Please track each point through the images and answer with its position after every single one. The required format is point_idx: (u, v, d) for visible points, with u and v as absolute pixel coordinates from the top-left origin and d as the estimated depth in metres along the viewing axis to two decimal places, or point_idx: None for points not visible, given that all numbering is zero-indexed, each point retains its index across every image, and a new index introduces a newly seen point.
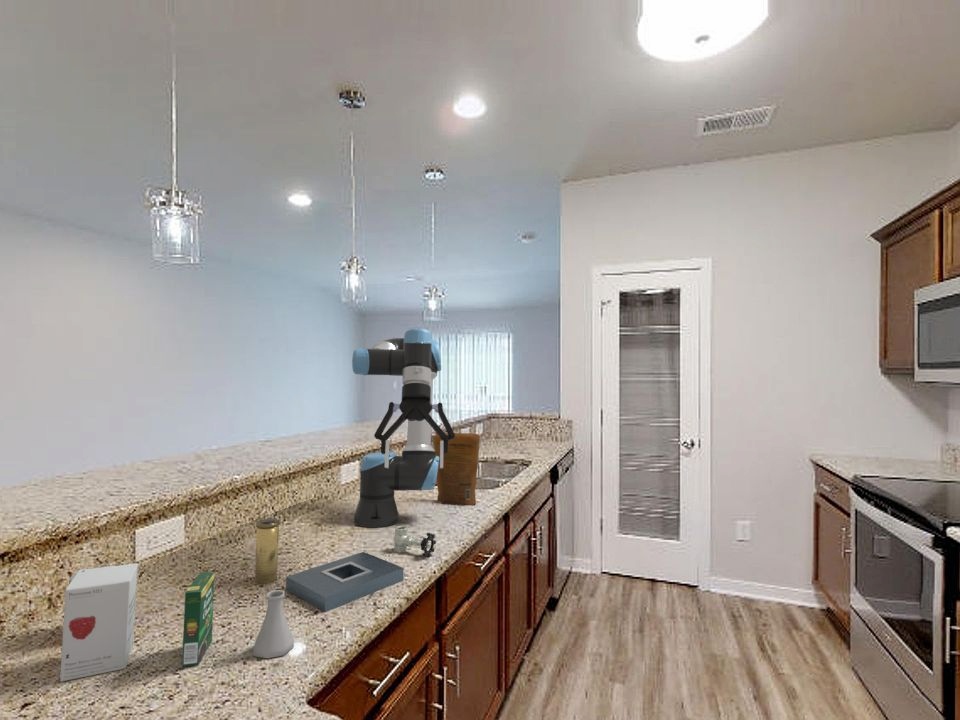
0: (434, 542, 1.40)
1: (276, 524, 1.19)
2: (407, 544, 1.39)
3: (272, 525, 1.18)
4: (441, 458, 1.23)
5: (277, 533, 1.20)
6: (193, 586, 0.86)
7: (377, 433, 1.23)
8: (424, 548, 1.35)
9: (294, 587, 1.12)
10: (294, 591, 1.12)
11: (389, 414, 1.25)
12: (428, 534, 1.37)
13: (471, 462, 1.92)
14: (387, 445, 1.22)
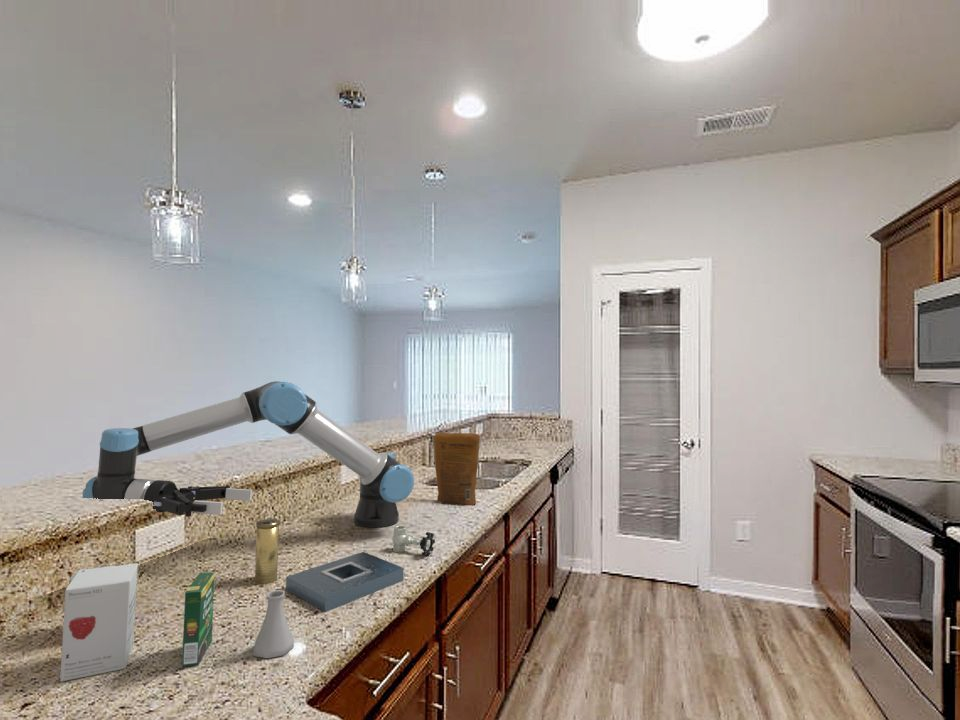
0: (433, 541, 1.40)
1: (276, 524, 1.19)
2: (406, 543, 1.40)
3: (272, 525, 1.18)
4: None
5: (277, 533, 1.20)
6: (193, 586, 0.86)
7: None
8: (424, 547, 1.36)
9: (294, 587, 1.12)
10: (294, 591, 1.12)
11: None
12: (427, 533, 1.38)
13: (471, 462, 1.92)
14: None
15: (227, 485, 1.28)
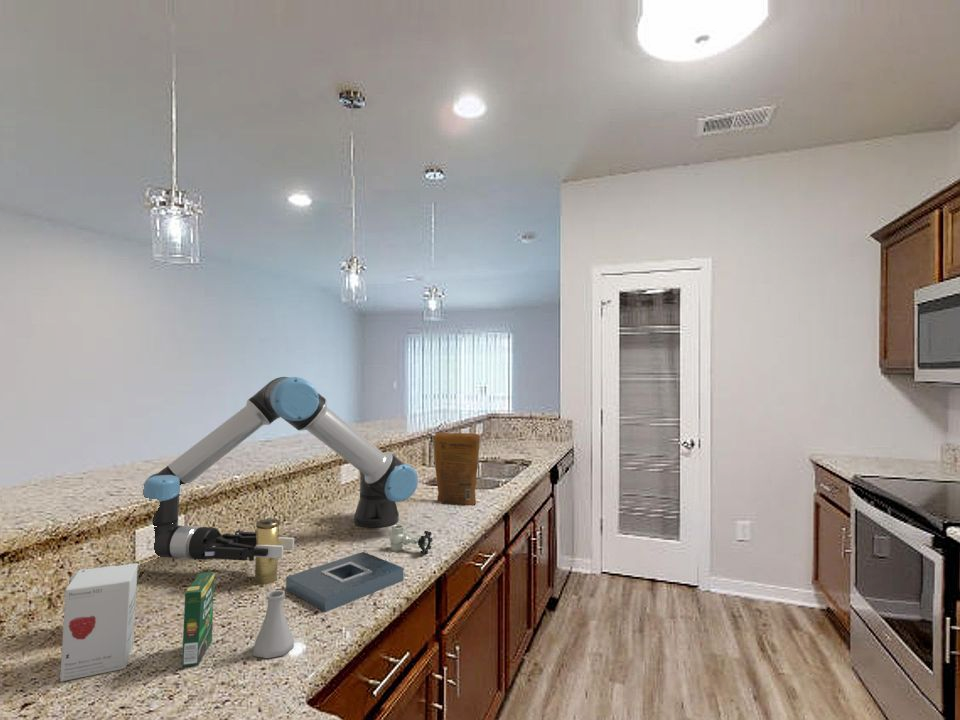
0: (431, 539, 1.42)
1: (276, 524, 1.19)
2: (404, 542, 1.41)
3: (272, 525, 1.18)
4: None
5: (277, 533, 1.20)
6: (193, 586, 0.86)
7: None
8: (422, 546, 1.37)
9: (294, 587, 1.12)
10: (294, 591, 1.12)
11: None
12: (425, 532, 1.39)
13: (471, 462, 1.92)
14: None
15: None
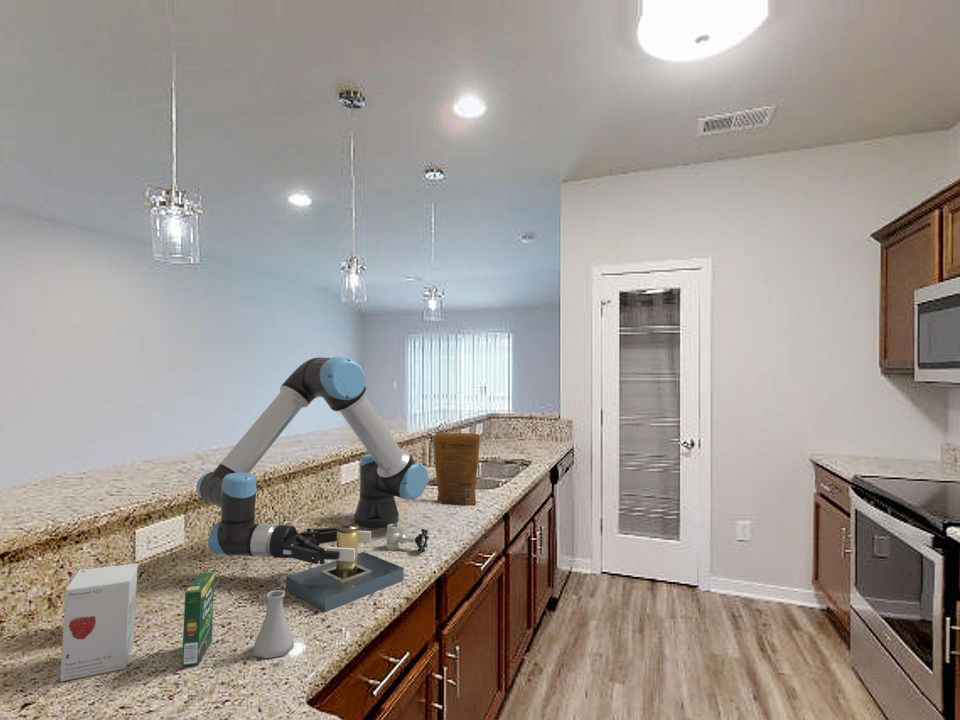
0: (427, 537, 1.43)
1: (357, 528, 1.18)
2: (401, 541, 1.42)
3: (353, 529, 1.17)
4: None
5: (357, 537, 1.18)
6: (193, 586, 0.86)
7: None
8: (420, 544, 1.38)
9: (294, 587, 1.12)
10: (294, 591, 1.12)
11: None
12: (422, 530, 1.41)
13: (471, 462, 1.92)
14: None
15: None
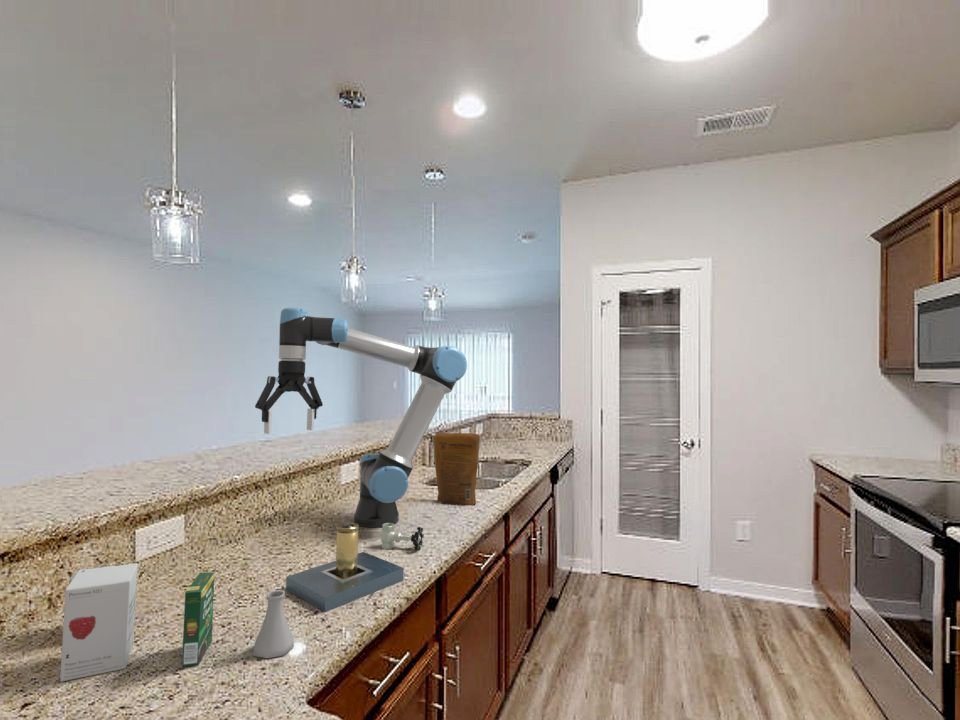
0: (422, 535, 1.45)
1: (356, 528, 1.18)
2: (396, 540, 1.43)
3: (353, 529, 1.17)
4: None
5: (357, 537, 1.18)
6: (193, 586, 0.86)
7: None
8: (417, 542, 1.40)
9: (294, 587, 1.12)
10: (294, 591, 1.12)
11: None
12: (418, 528, 1.43)
13: (471, 462, 1.92)
14: None
15: (316, 408, 1.51)
